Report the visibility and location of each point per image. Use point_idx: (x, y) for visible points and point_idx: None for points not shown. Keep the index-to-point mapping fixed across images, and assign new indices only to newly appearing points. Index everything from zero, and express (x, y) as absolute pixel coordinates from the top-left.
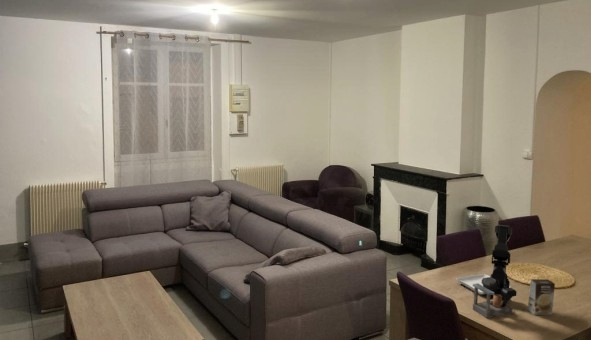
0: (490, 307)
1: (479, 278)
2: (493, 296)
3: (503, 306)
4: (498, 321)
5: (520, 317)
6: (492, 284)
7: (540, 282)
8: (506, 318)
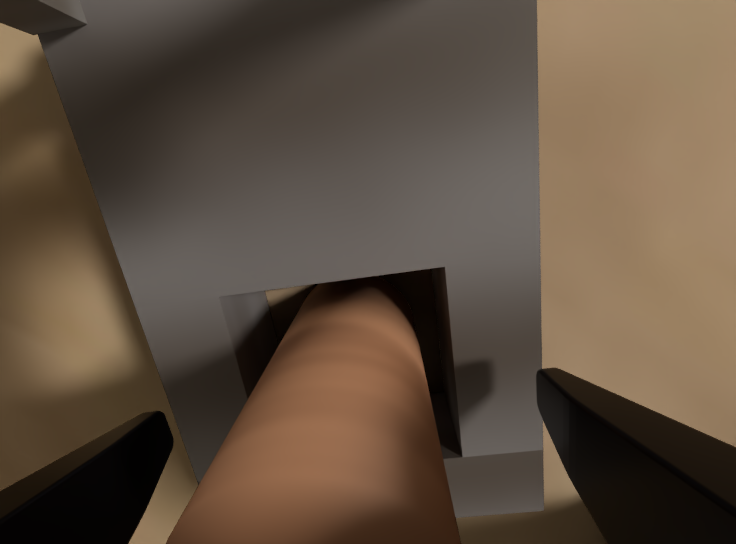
0: (254, 191)
1: None
2: (366, 445)
3: (131, 419)
4: (9, 157)
5: None
6: None
7: None
8: (115, 322)
